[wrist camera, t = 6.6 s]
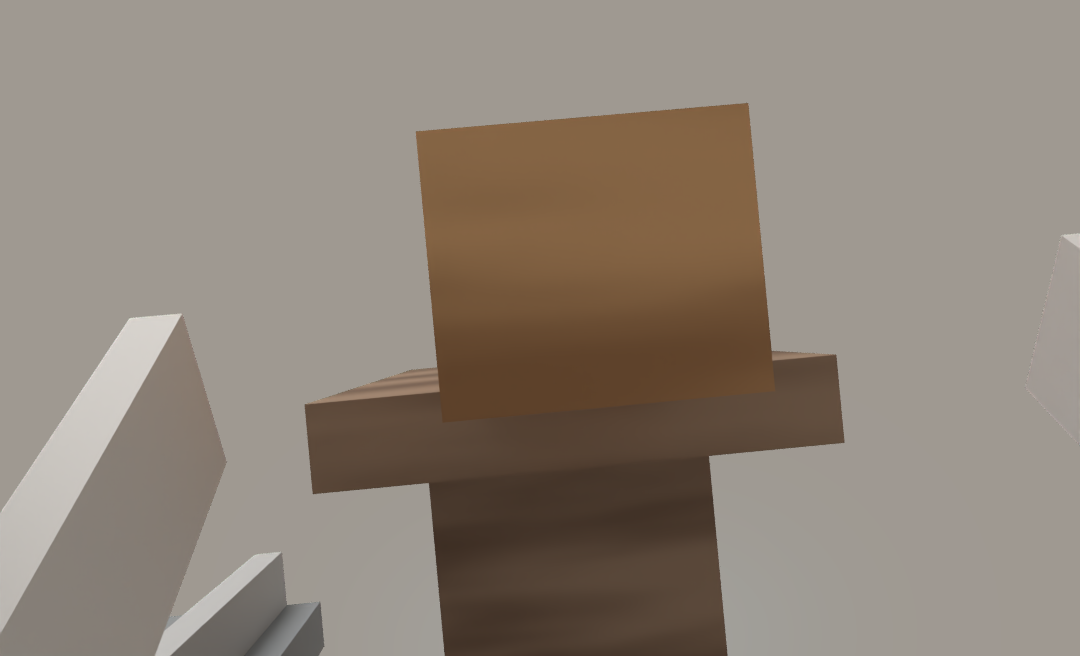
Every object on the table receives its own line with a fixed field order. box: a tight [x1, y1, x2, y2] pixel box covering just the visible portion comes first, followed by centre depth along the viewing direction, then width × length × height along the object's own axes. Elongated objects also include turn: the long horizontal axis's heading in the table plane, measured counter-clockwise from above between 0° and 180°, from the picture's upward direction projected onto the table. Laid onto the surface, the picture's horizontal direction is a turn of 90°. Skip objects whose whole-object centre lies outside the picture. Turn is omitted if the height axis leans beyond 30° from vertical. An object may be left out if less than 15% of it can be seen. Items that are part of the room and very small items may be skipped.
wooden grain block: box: [416, 103, 775, 423], centre depth 22 cm, size 19×5×4 cm, turn 2°
